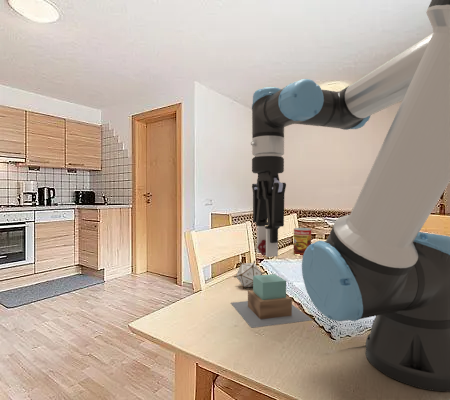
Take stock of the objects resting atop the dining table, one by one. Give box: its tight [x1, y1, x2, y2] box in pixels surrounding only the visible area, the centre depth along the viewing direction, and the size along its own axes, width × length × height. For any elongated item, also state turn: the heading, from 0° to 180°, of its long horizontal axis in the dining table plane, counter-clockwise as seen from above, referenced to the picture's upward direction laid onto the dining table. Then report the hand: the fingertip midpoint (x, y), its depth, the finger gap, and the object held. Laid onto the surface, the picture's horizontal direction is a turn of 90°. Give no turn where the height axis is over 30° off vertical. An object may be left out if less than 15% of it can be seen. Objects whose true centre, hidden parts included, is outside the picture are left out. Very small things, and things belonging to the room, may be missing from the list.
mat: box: [230, 300, 313, 329], centre depth 75 cm, size 15×15×1 cm
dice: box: [256, 240, 266, 257], centre depth 73 cm, size 4×4×4 cm
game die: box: [233, 260, 266, 290], centre depth 93 cm, size 9×8×10 cm
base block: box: [247, 289, 293, 319], centre depth 75 cm, size 8×8×4 cm
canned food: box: [293, 227, 312, 255], centre depth 142 cm, size 8×8×12 cm
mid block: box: [252, 273, 287, 300], centre depth 75 cm, size 6×6×4 cm
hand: (267, 254), depth 74 cm, fingers closed on dice, 4 cm apart
